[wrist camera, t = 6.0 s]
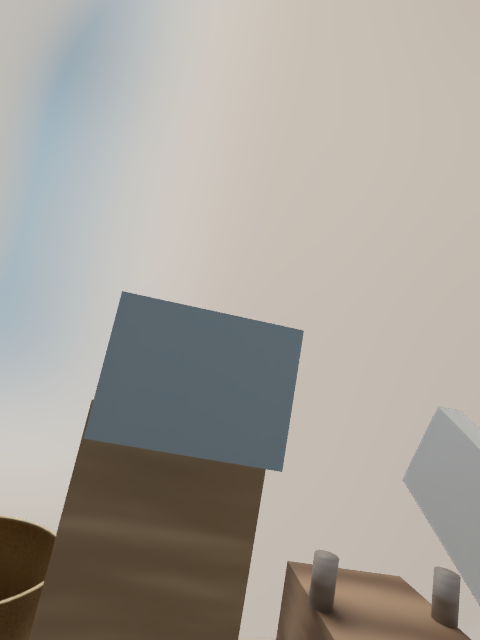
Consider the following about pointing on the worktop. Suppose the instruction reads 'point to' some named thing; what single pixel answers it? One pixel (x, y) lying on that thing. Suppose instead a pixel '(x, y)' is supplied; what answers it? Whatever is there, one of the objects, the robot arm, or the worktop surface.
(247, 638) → the worktop surface
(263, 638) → the worktop surface
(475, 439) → the robot arm
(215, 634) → the stand
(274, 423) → the blue-grey block
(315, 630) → the wooden block with pegs
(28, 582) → the plant pot
